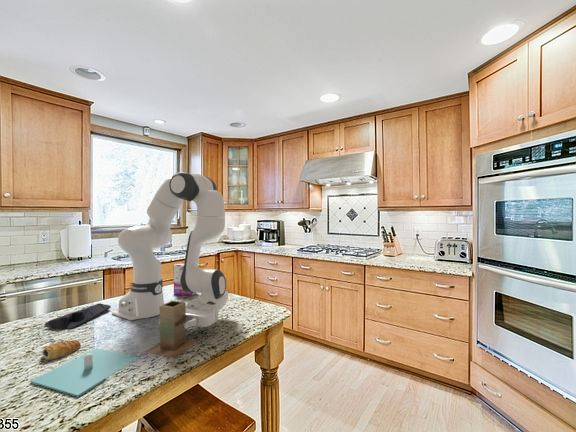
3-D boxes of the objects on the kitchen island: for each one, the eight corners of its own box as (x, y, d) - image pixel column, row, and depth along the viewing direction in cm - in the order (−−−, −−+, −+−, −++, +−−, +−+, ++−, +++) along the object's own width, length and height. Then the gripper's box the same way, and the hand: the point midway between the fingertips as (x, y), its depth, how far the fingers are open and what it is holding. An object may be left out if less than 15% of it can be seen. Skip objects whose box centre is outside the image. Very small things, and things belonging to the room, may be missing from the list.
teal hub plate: (30, 383, 73) (29, 365, 72) (96, 349, 90) (96, 335, 90) (77, 397, 67) (77, 378, 67) (139, 359, 84) (138, 343, 84)
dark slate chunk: (117, 310, 126) (117, 300, 126) (69, 331, 104) (69, 319, 104) (90, 308, 129) (89, 298, 129) (38, 328, 108) (38, 316, 108)
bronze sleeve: (160, 348, 89) (159, 306, 89) (172, 340, 94) (171, 300, 94) (174, 351, 87) (173, 307, 87) (186, 343, 93) (185, 302, 92)
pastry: (75, 344, 94) (75, 333, 94) (84, 349, 91) (84, 338, 90) (40, 357, 86) (39, 345, 86) (48, 363, 83) (48, 351, 82)
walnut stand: (144, 353, 87) (144, 336, 87) (171, 337, 98) (171, 321, 98) (175, 360, 83) (175, 342, 83) (199, 341, 95) (199, 325, 95)
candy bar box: (197, 293, 150) (196, 263, 150) (192, 296, 145) (192, 265, 145) (178, 292, 152) (178, 263, 151) (173, 295, 147) (172, 264, 147)
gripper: (175, 298, 107) (147, 311, 93) (221, 304, 100) (197, 318, 87) (176, 314, 107) (147, 329, 94) (221, 321, 100) (197, 338, 87)
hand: (172, 324), depth 90 cm, fingers open, 8 cm apart
